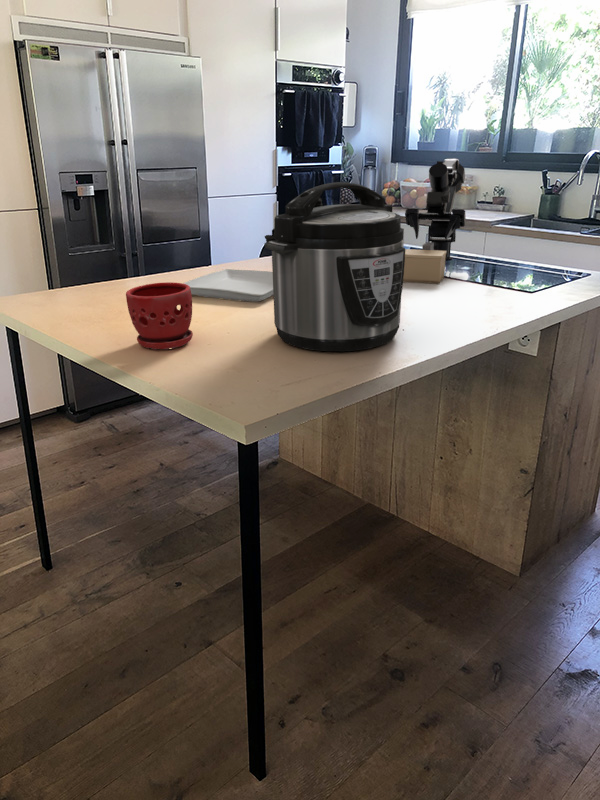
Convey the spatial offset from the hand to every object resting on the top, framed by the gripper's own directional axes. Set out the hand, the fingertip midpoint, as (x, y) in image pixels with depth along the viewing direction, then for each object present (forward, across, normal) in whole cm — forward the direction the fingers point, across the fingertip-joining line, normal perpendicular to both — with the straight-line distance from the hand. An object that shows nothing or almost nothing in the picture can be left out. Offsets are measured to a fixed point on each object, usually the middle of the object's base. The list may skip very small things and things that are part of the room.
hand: (431, 238), depth 202 cm
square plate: (+39, -46, -23) cm, 64 cm away
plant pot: (+76, -40, -60) cm, 104 cm away
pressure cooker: (+64, -6, -49) cm, 81 cm away
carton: (+17, 0, -2) cm, 17 cm away
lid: (+10, 0, -4) cm, 11 cm away
